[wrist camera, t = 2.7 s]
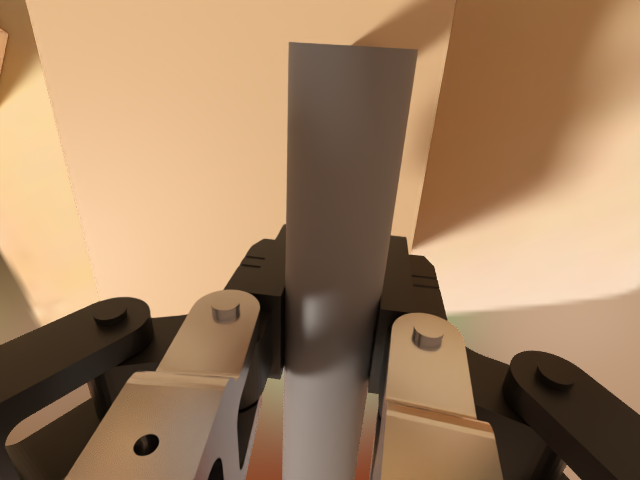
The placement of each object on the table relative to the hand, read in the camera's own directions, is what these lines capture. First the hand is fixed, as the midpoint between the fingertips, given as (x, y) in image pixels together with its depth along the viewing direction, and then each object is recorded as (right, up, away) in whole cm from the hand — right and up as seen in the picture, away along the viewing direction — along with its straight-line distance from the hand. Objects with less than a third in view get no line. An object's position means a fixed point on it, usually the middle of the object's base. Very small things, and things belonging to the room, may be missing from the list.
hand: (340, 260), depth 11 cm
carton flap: (-4, +3, +5) cm, 6 cm away
